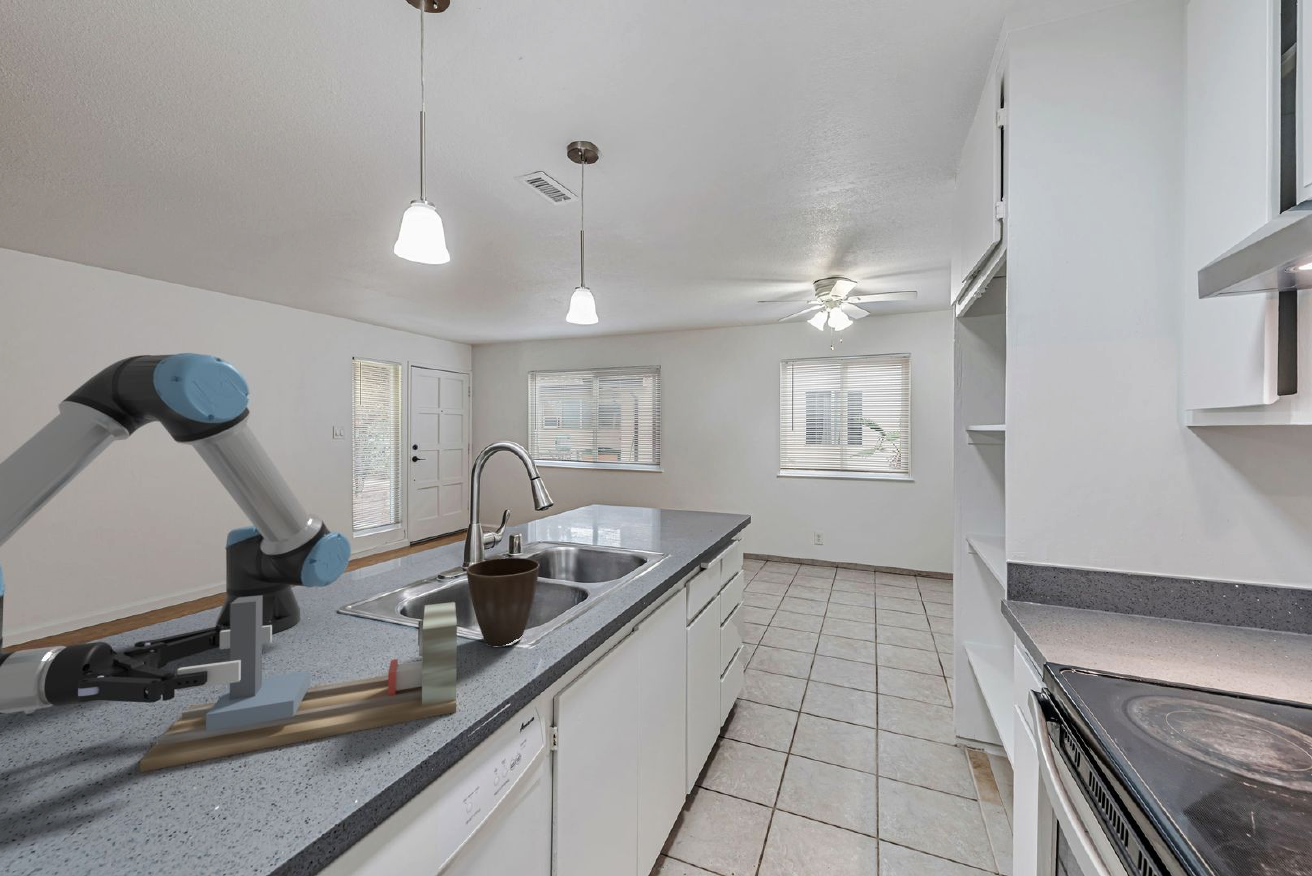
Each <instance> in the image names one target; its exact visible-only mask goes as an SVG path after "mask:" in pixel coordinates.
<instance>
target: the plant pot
mask: <svg viewBox="0 0 1312 876" xmlns="http://www.w3.org/2000/svg"><path fill="white" fill-rule="evenodd" d="M539 571H540V563H539V562H538V561H537V560H533V559H529V558H524V557H523V558H521V557H505V558H503V557H502V558H493V559H487V560H481V561H478V562H476V563H473V564H471V565H469V566H468V567H467V568H466V577H467V583H468V590H469V595H470V598H471V604H472V607H473V611H474V614H475V618H476V621H477V624H478V626H479V630H480V633H481V634H482V637H483V639H484V642H485V644H486V645H487V644H488V645H487V646H489V645H490V646H489V647H492V646H503V645H506V644H509V643H511V642H513V641H514V640H516V639H519V638H520V637H521V636H522V635H524V633H525V630H526V628H527V627H526V626H527V624H528V621H529V618H530V616H531V611H532V607H533V604H534V600H535V595H536V591H537V585H538V579H539V578H538V577H539V573H540V572H539ZM522 637H523V636H522Z"/></svg>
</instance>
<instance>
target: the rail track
mask: <svg viewBox="0 0 1312 876" xmlns="http://www.w3.org/2000/svg"><path fill="white" fill-rule="evenodd" d="M423 611H424V613H423V619H421V620H418V625H417V627H418V629H417V630H418V633H417V634H418V637H417V643H418V644H417V646H418V656H419V657H422V658H421V661H422V686H421V687H415V688H409V689H403V690H397V691H396V695H393V696H388V675H383V676H376V677H369V678H363V679H357V680H350V681H343V682H339V683H332V684H325V685H319V686H312V687H309V688H308V690H307V692H306V694H305V695H304V697H303V699H302V701H301V703H300V705H299V707H298V709H297V711H296V713H295V715H294V717H289V718H284V719H278V720H272V721H266V722H261V723H255V724H249V725H243V726H238V727H232V728H226V729H220V730H215V731H209V732H206V714H207V713H208V712H209V711H210V709H211V708H212V707H213V706H214V705H215V703H216V702H217V701H216V702H211V703H210V702H209V703H204V704H198V705H197V704H196V705H191V706H189V707H187V708H185V709H184V710H183V711H182V712H181V716H180V717H179V718H178V719H177V720H176V721H175V722H174V723H173V724H172V725H171V727H170V728H169V729H167V731H166V732H165V733H164V734H160V736H159V737H158V738H157V742H156V743H155V745H153V746H152V747H151V749H150V750H149V751H148V752H147V753H146V754H144V756H143V757H142V758H141V760H139V761H140V762H139V763H140V765H139V767H140V768H139V769H140V771H139V772H140V773H144V772H149V771H153V770H154V771H155V770H160V769H165V768H170V767H174V766H180V765H185V764H191V763H195V762H202V761H207V760H211V759H217V758H221V757H227V756H233V755H237V754H243V753H249V752H255V751H259V750H265V749H270V748H274V747H279V746H284V745H290V744H296V743H301V742H306V741H311V740H317V739H321V738H326V737H333V736H337V735H343V734H348V733H354V732H358V731H362V730H363V731H364V730H368V729H374V728H378V727H379V728H380V727H385V726H389V725H390V726H391V725H396V724H400V723H405V722H411V721H415V720H421V719H426V718H431V717H437V716H442V715H446V714H447V715H448V714H452V713H457V658H458V657H457V656H458V655H457V651H458V650H457V649H458V648H457V646H458V645H457V644H458V639H457V638H458V634H457V633H458V621H457V611H456V602H454V601H451V602H443V603H434V604H425V605H424V610H423Z"/></svg>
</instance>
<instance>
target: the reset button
mask: <svg viewBox="0 0 1312 876" xmlns="http://www.w3.org/2000/svg"><path fill="white" fill-rule="evenodd" d="M387 676H388V696H393V695H396V691H397V690H403V689H409V688H415V687H421V686H422V660H418V661H411V662H405V663H399V660H398V658H395V659H391V660H390V663H389V668H388V675H387Z"/></svg>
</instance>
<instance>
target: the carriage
mask: <svg viewBox="0 0 1312 876" xmlns="http://www.w3.org/2000/svg"><path fill="white" fill-rule="evenodd" d="M262 605H263V595H261V596H250V597H239V598H237V599H236V600H235V601H233V602H232V603H231V604H230V648H229V661H236V660H241V680H240V681H239V682H234V683H229V687H228V688H227V689H226V690H225V692H224V693H223V694H222V695H221V696H220V697H219V699H218V700H217V701H216V703H215V702H214V703H215V705H214V706H213V707H212V708H211V709H210V711H209V712H208V713H207V714H206V732H209V731H215V730H220V729H226V728H232V727H238V726H243V725H249V724H255V723H261V722H266V721H272V720H278V719H284V718H289V717H294V715H295V713H296V711H297V709H298V707H299V705H300V703H301V701H302V699H303V697H304V695H305V694H306V692H307V690H308V688H310V686H311V670H303V671H298V672H297V671H296V672H290V673H289V672H288V673H283V674H276V675H270V676H263V644H262Z"/></svg>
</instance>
